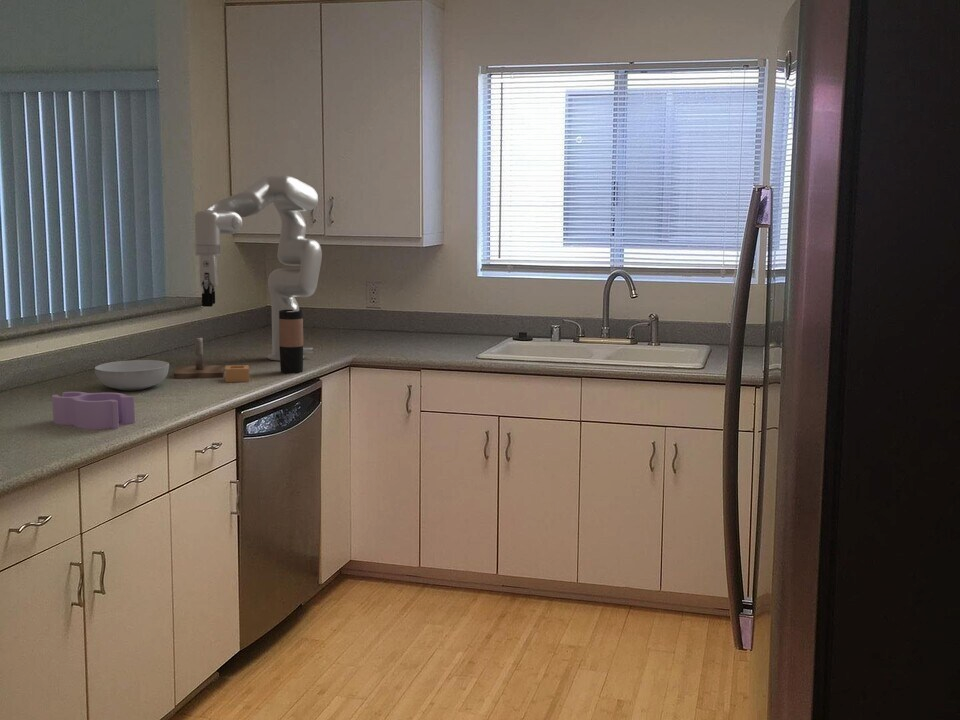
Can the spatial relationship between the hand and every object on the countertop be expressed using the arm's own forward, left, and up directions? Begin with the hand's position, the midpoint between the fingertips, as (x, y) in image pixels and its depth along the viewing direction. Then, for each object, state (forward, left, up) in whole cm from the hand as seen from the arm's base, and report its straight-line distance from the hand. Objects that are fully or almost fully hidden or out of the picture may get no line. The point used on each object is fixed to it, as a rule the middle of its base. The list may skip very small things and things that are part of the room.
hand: (208, 305), depth 332 cm
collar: (-9, +12, -22) cm, 27 cm away
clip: (+26, +70, -23) cm, 78 cm away
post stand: (+3, -1, -22) cm, 22 cm away
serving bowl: (+21, +21, -23) cm, 37 cm away
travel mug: (-26, -1, -22) cm, 34 cm away
